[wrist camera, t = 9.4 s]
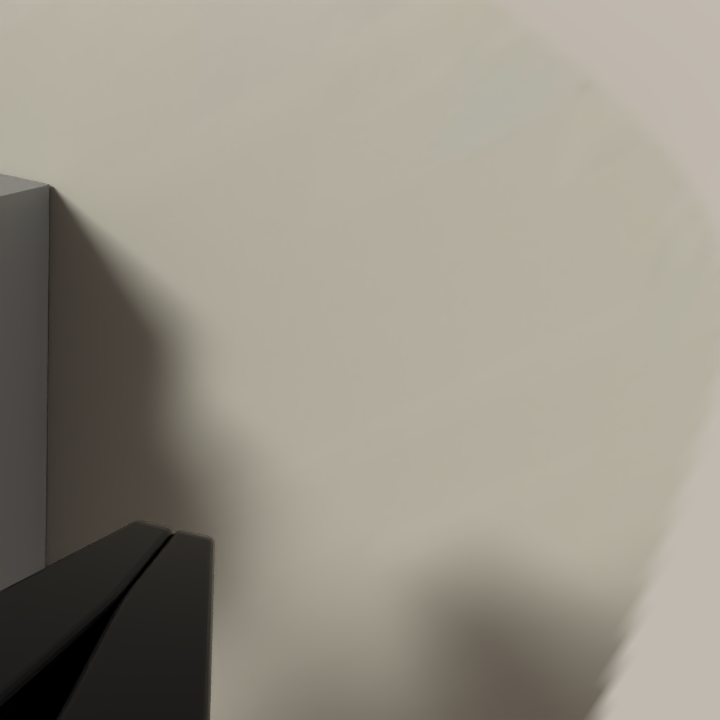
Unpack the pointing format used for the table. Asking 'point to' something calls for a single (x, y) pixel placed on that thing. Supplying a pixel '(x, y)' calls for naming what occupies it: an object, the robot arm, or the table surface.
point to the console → (23, 376)
